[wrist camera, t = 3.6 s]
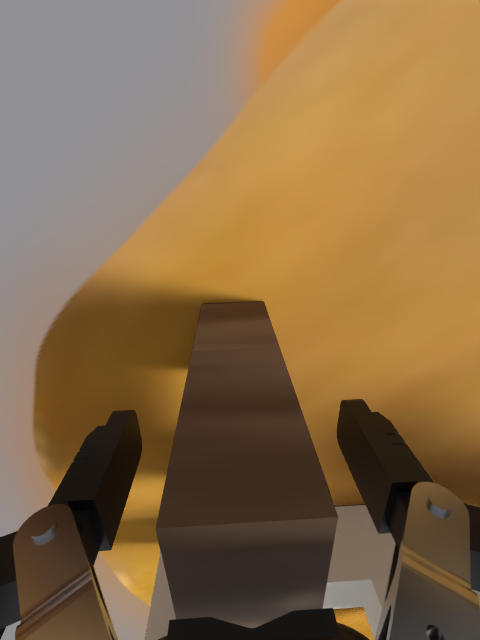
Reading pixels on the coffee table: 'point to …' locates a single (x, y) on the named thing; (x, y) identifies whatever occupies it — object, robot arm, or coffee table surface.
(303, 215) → the coffee table surface
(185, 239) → the coffee table surface
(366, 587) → the white notched plate
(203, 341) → the walnut notched plate
